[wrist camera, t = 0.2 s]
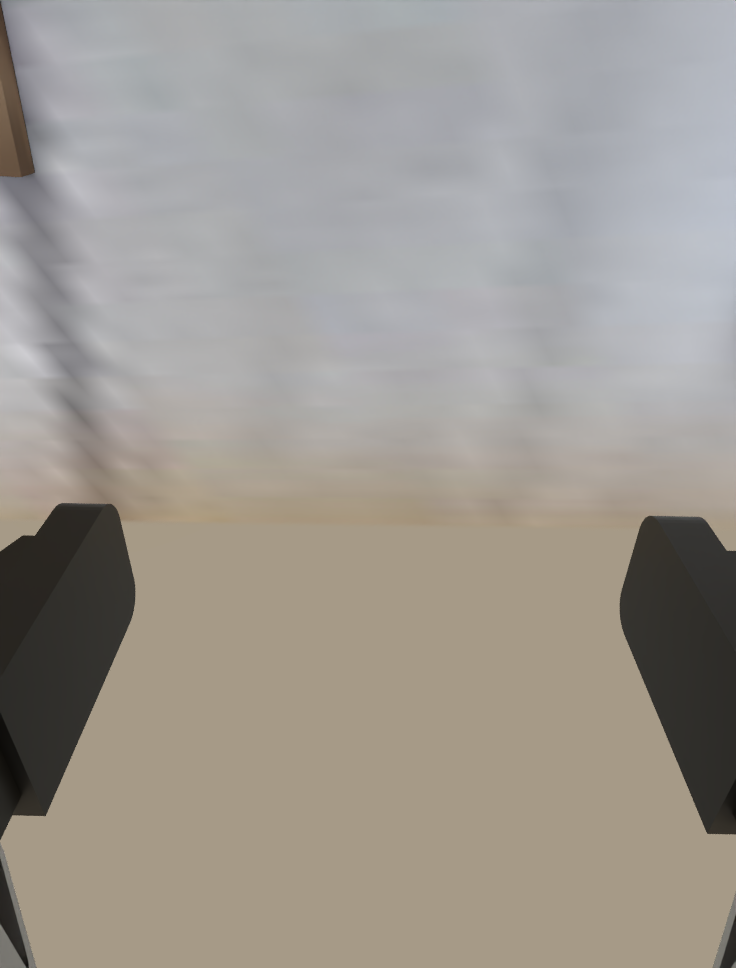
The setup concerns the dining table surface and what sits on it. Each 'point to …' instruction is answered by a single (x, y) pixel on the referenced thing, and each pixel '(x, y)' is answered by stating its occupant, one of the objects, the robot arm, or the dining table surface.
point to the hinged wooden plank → (11, 117)
